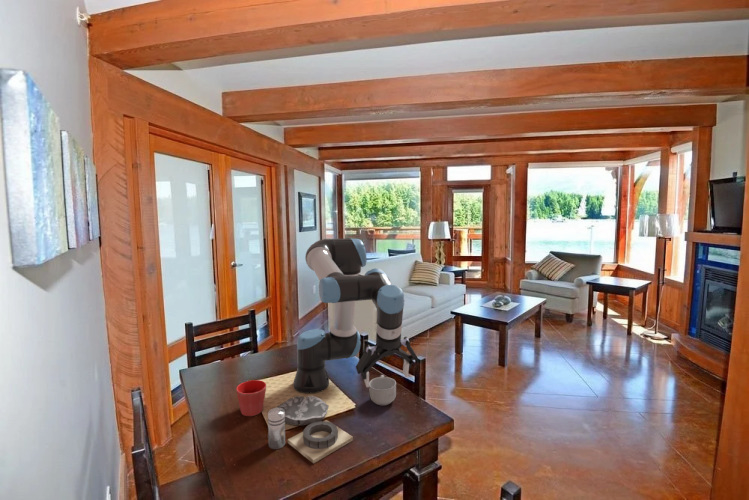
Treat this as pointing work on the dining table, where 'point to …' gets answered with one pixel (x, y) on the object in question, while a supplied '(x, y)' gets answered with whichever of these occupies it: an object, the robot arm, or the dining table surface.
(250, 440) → the dining table surface
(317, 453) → the ring board
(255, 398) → the flower pot
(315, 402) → the brain slice
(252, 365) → the dining table surface
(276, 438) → the piston
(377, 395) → the teacup
